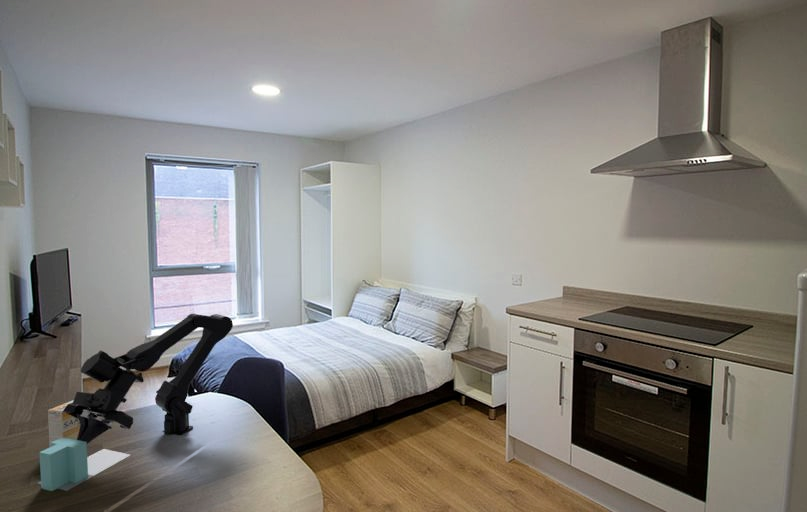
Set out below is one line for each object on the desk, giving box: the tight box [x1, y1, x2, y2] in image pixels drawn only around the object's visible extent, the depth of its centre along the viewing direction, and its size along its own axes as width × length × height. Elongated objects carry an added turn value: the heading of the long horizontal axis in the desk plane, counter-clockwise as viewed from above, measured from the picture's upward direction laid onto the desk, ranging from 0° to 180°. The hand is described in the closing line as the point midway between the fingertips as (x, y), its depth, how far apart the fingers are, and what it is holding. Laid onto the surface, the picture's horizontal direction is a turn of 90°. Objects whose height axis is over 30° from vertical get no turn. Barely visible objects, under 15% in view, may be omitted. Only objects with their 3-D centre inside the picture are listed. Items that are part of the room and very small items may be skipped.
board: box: [37, 448, 131, 492], centre depth 113 cm, size 17×10×1 cm, turn 163°
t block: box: [39, 437, 88, 492], centre depth 107 cm, size 7×8×9 cm
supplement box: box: [47, 399, 80, 448], centre depth 123 cm, size 8×5×13 cm, turn 168°
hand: (76, 448), depth 110 cm, fingers closed
